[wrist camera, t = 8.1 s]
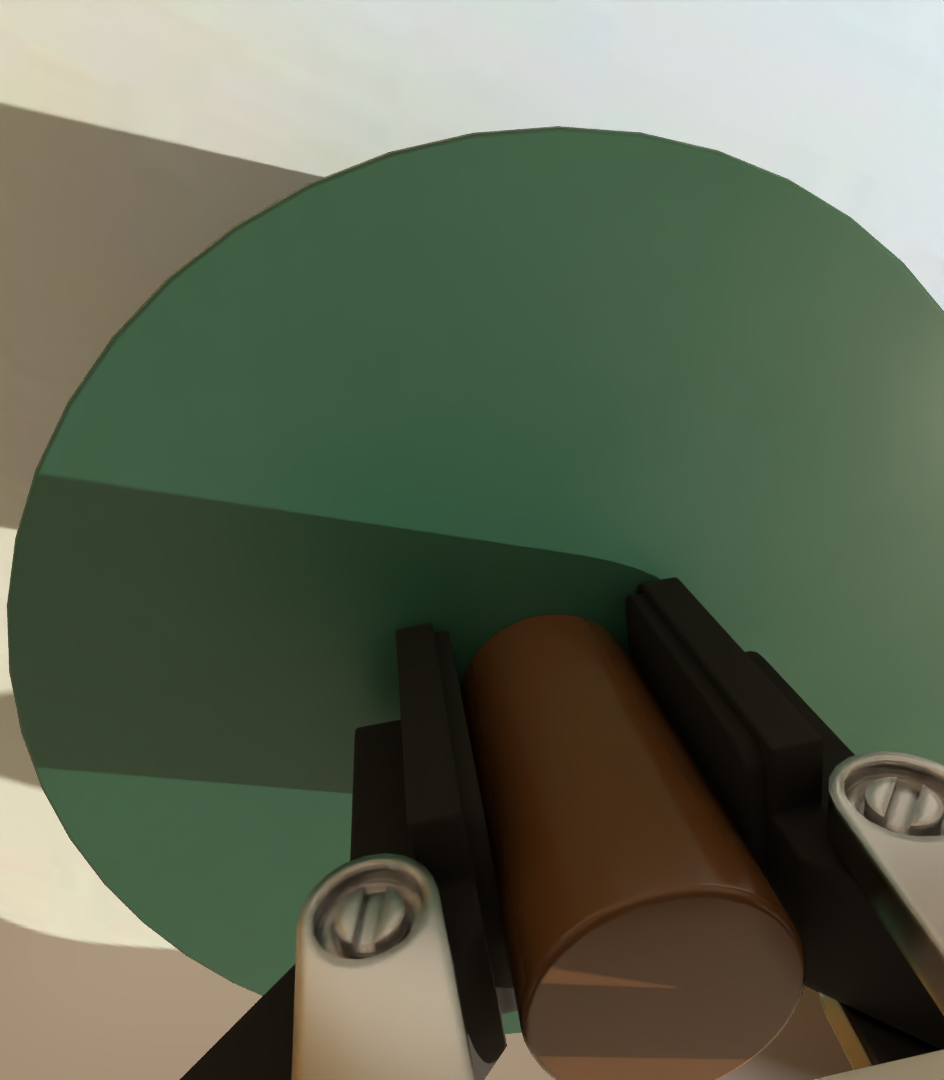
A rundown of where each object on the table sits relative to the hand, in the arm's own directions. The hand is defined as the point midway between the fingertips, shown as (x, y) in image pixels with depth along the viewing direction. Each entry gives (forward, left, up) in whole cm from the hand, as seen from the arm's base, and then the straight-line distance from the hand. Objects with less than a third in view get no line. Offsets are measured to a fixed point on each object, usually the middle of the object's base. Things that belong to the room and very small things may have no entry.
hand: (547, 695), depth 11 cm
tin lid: (0, 0, -1) cm, 1 cm away
